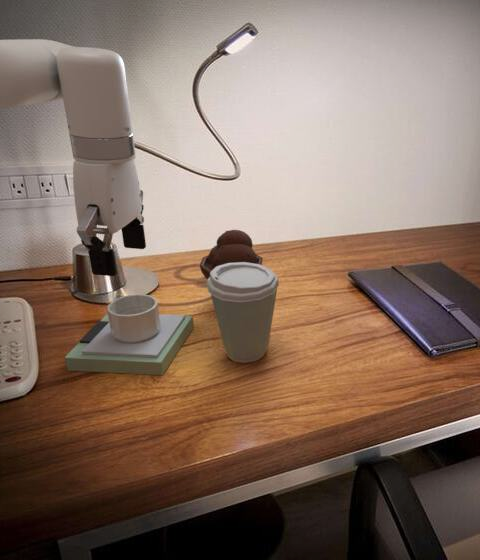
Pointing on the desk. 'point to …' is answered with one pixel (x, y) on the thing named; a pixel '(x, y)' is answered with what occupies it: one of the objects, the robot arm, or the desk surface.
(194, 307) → the desk surface
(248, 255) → the ice cream bowl
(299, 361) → the desk surface
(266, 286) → the disposable coffee cup
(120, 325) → the bowl
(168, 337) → the scale
